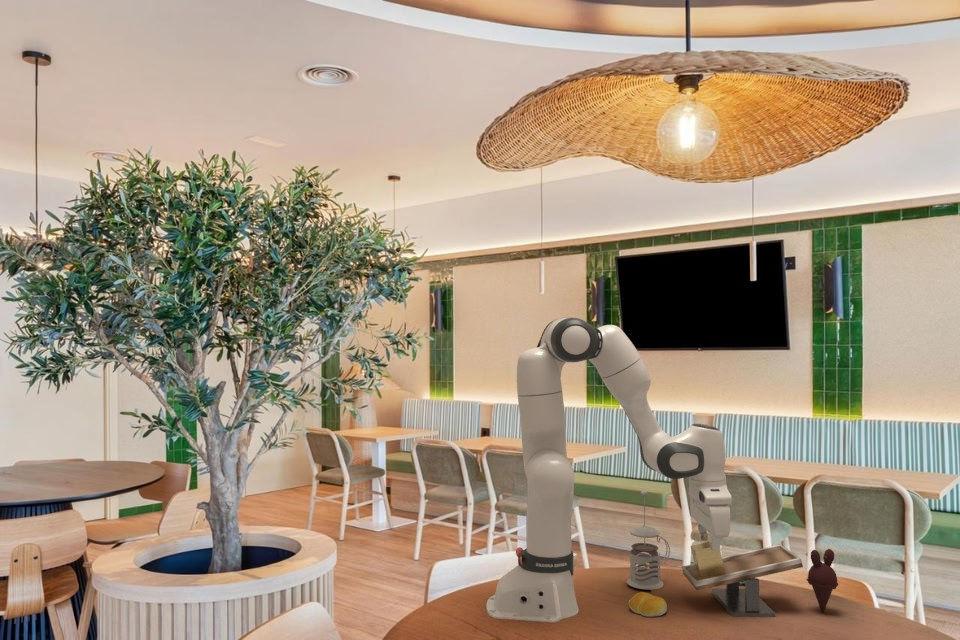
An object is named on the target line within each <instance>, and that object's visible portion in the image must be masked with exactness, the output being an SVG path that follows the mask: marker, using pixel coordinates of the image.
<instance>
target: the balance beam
mask: <svg viewBox="0 0 960 640" xmlns="http://www.w3.org/2000/svg"><path fill="white" fill-rule="evenodd" d="M722 561H723V565H724V569H725V573H726V574H721V575H717V576H712V577H708V578H704V579H701V578H700V576H699V575H698V574H697V572H696V568H695V564H694V563H692V564H688V565H682V566H681V569H682V574H683V576H684V577H685V578H686V579H687V580H688V582H689V583H690V584H691V586H693V588H694V589H695V590H696V591H697V592H699V591H703V590H707V589H713V588H715V587H716V588H717V587H721V586H726V584H730V583H734V582H739V581H743V580H745V578H761V577H765V576H770V575H773V574H778V573H783V572H787V571H792V570H797V569H800V568H804V565H803V561H802V558H800V557H799V556H798V555H796V554H795V553H793V552H792V551H791V550H790V549H788V548H787V547H785V546H784V545H782V543H781V544H777V545H776V544H775V545H772V546H767V547H763V548H759V549H753V550H750V551H745V552H741V553H736V554H731V555H727V556H723V557H722ZM739 583H740V582H739Z"/></svg>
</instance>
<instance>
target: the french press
mask: <svg viewBox="0 0 960 640" xmlns="http://www.w3.org/2000/svg"><path fill="white" fill-rule="evenodd" d="M640 495H642V496H643V512H644V513H643V519H644V520H643V521H644V522H643V524H642V525H638V526H634V527H632V528H630V530H629V534H630V535H631V536H632V537H633V536H634V537H637V538H642V539H643V538H644V539H643V541H644V542H636V543H633V544H632V545H630V546H631V548H632V549H631V550H630V552H629V554H630V555H629V559H630V561H629V562H630V565H629V566H630V567H629V568H630V574H629V575H630V577H629V578H627V580H626V583H627V585H628V586H630V587H633V588H636V589H640V590H658V589H661V588H663V587H664V586H665V584H664V582H663V581H662V580H661V566H662V565H663V564H666V562H667V561H668V560H669V557H670V554H671V547H670V544H669V543H668V541H667V540H666V539H665V538H664V537H662V536H660V534H661V532H660V531H659V530H658V529H656V528H655V527H654V526H653V527H652V526H649V525H646V498H645V497H646V496H648V495H649V493H648V490H646V489H644V490H643V489H642V490H641V491H640ZM649 538H650V539H651V538H656V541H657V542H658V543H660V542H661V540H663V541H664V543H665V546H666V548H665V549H666V551H665V555H664V557H663V558H662V559H661V560H660V557H661V556H660V554H661V553H659V551H658V550H659V546H657V544H656V545H655V544H653V543H649V542H646V539H649ZM640 553H644V554H640ZM645 553H647V554H649V555H647V554H645ZM638 554H639V555H638ZM666 557H667V558H666ZM662 561H664V562H662Z"/></svg>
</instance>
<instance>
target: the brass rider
mask: <svg viewBox="0 0 960 640" xmlns="http://www.w3.org/2000/svg"><path fill="white" fill-rule="evenodd" d="M711 543H712V540H710V541H706V542H703V543H702V542H701V543H697V544H693V545H690V550H691V554H692V559H693V562H694V563H693V564H695V568H696V572H697V574H698V575H699V576H700V578H701V579H704V578H708V577H712V576H717V575H721V574H726V573H725V569H724V565H723V561H722V552H721V551H720V552H713V551H712V550H711Z"/></svg>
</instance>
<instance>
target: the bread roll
mask: <svg viewBox="0 0 960 640" xmlns="http://www.w3.org/2000/svg"><path fill="white" fill-rule="evenodd" d="M628 607H629V609H630V610H631V611H632V612H633V613H635V614H637V615H640V616H643V617H647V618H648V617H649V618H652V617H653V618H654V617H660V616H662V615H664V614H665V613H667V611H668V605H667V602H666V600H665V599H664V598H662V597H660V596H656V595H655V596H654V595H652V593H651V594H650V593H649V592H646V591H645V592H644V591H640V592H637V593H635V594H634V595H633V596H632V597H631V598H630V599H629V600H628Z"/></svg>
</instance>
